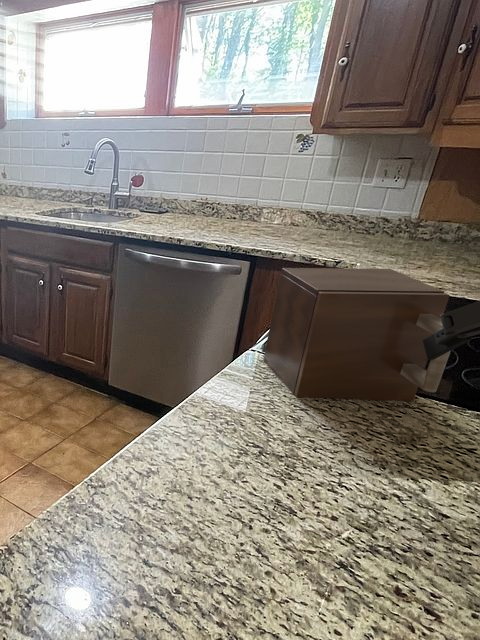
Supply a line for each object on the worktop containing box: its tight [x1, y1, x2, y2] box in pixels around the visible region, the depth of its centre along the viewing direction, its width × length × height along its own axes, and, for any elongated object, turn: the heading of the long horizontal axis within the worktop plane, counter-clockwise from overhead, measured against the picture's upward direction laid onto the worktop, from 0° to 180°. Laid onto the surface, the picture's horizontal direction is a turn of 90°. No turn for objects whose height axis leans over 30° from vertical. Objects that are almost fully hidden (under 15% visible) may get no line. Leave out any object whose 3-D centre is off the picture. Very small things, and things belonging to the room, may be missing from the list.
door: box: [293, 292, 452, 402], centre depth 79 cm, size 7×18×18 cm, turn 84°
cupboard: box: [262, 267, 445, 395], centre depth 89 cm, size 14×18×18 cm
